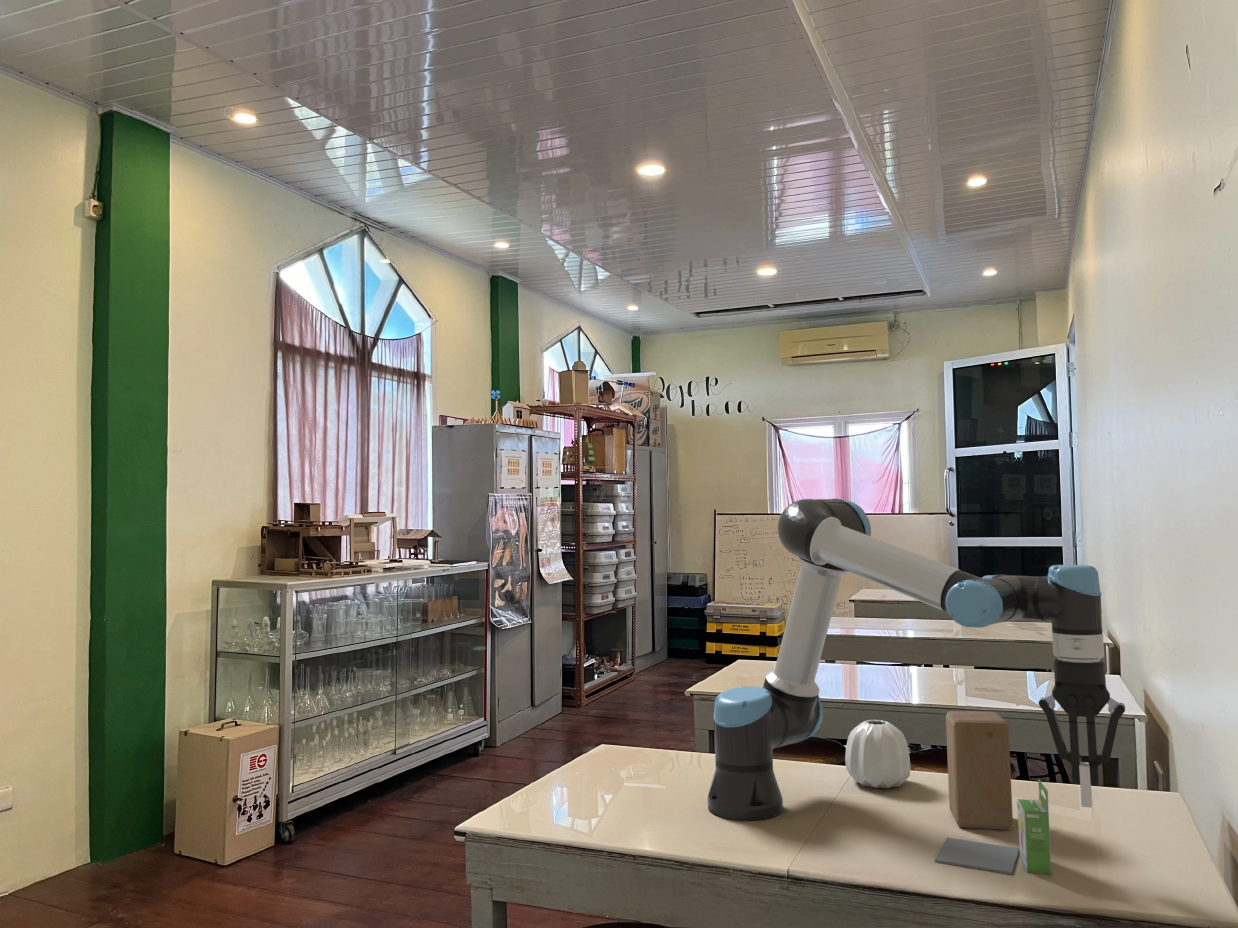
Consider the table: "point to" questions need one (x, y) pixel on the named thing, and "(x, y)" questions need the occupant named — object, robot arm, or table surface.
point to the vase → (877, 755)
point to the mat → (978, 855)
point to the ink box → (1035, 833)
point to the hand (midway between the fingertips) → (1086, 804)
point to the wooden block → (979, 770)
